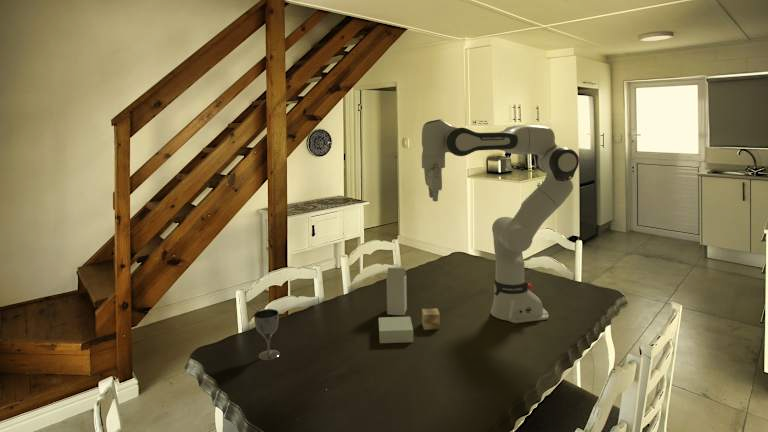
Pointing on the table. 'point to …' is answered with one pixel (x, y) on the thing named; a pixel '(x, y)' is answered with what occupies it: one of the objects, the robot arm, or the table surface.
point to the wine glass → (267, 330)
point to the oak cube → (430, 319)
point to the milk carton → (396, 291)
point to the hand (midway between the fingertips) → (433, 199)
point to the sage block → (395, 329)
